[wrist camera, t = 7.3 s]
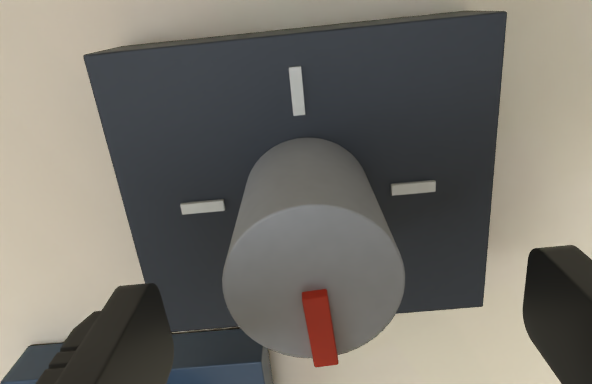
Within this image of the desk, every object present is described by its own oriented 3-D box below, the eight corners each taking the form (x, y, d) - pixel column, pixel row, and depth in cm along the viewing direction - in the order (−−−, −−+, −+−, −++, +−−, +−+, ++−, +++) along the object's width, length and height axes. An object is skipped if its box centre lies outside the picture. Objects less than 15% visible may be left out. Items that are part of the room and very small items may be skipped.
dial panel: (468, 10, 15) (511, 11, 12) (455, 263, 19) (485, 310, 16) (120, 46, 15) (79, 55, 12) (177, 286, 19) (156, 336, 16)
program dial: (233, 147, 14) (199, 227, 9) (362, 127, 13) (402, 197, 8) (258, 258, 15) (241, 378, 10) (374, 242, 15) (414, 356, 10)
